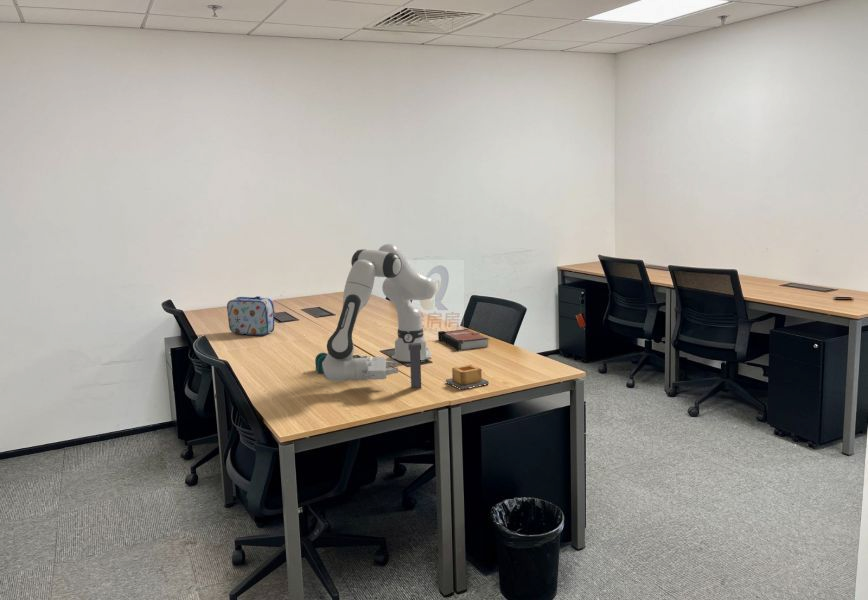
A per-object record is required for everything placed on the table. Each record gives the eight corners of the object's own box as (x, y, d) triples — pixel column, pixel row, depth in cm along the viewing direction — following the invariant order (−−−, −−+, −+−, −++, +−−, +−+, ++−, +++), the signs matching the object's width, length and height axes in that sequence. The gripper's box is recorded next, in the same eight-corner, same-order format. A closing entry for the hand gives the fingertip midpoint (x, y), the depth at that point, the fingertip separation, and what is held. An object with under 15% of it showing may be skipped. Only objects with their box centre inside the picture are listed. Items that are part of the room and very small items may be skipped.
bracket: (319, 374, 304) (318, 356, 302) (315, 370, 310) (314, 353, 308) (358, 369, 310) (357, 352, 309) (354, 365, 316) (354, 348, 315)
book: (490, 347, 343) (490, 337, 342) (458, 351, 337) (458, 341, 336) (468, 337, 367) (468, 328, 366) (438, 340, 361) (438, 331, 360)
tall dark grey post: (410, 389, 277) (408, 345, 274) (409, 386, 280) (408, 343, 277) (422, 388, 277) (421, 344, 274) (422, 386, 280) (420, 343, 277)
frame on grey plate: (461, 390, 274) (460, 374, 272) (445, 383, 284) (445, 367, 283) (488, 384, 280) (488, 369, 279) (472, 377, 290) (472, 362, 289)
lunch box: (279, 332, 390) (277, 294, 386) (270, 337, 380) (267, 297, 376) (237, 331, 398) (234, 293, 394) (227, 335, 388) (223, 296, 384)
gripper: (362, 368, 265) (398, 366, 266) (363, 355, 285) (397, 353, 286) (362, 384, 266) (398, 382, 267) (364, 369, 286) (397, 368, 287)
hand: (397, 367), depth 277 cm, fingers open, 8 cm apart
